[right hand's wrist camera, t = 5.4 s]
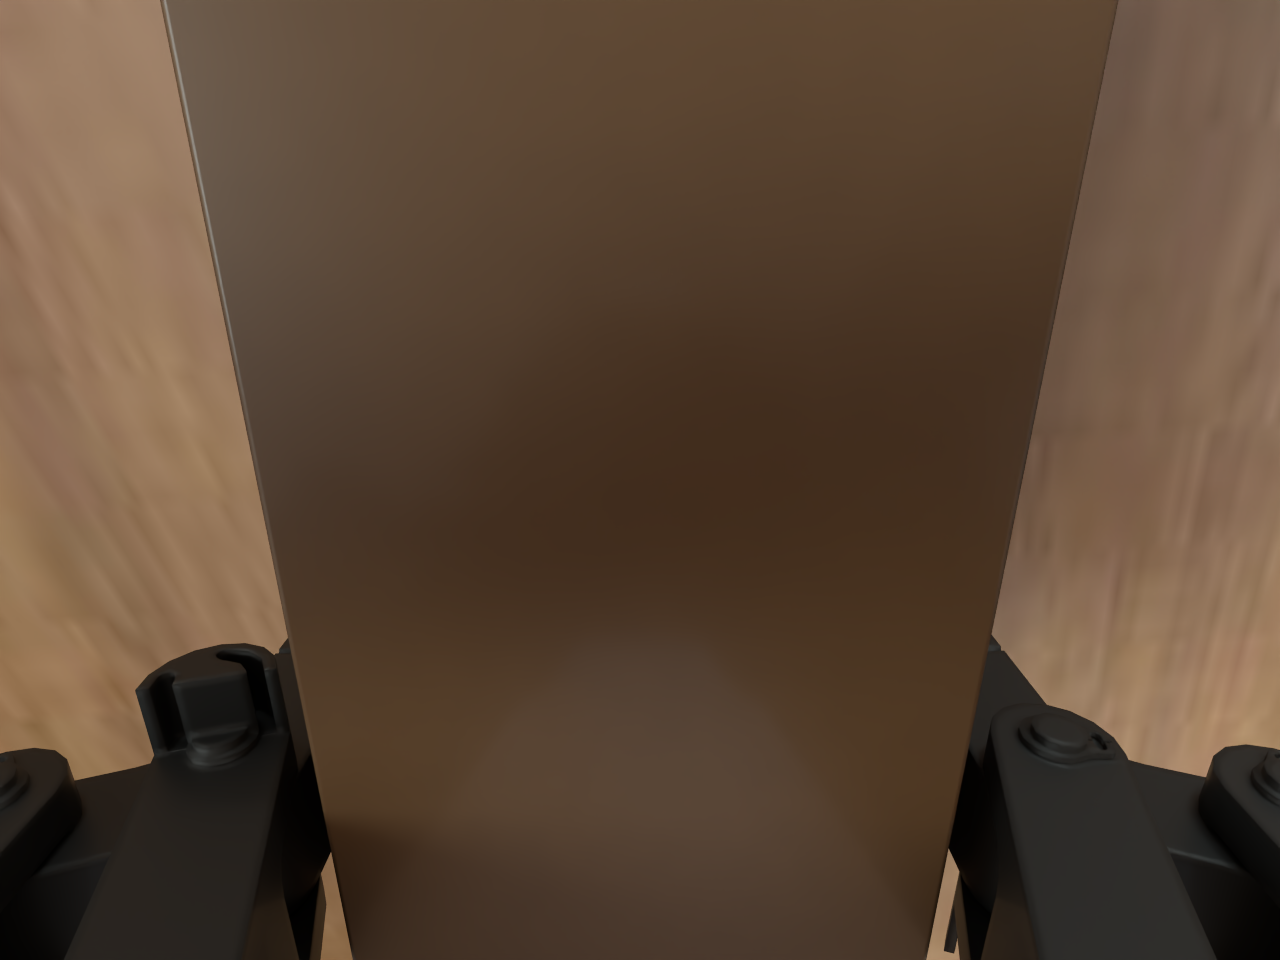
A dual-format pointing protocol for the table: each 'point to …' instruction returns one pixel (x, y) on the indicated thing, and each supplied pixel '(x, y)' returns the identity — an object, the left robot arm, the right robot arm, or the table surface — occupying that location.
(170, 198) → the table surface
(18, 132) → the table surface
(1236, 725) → the table surface
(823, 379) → the bar
